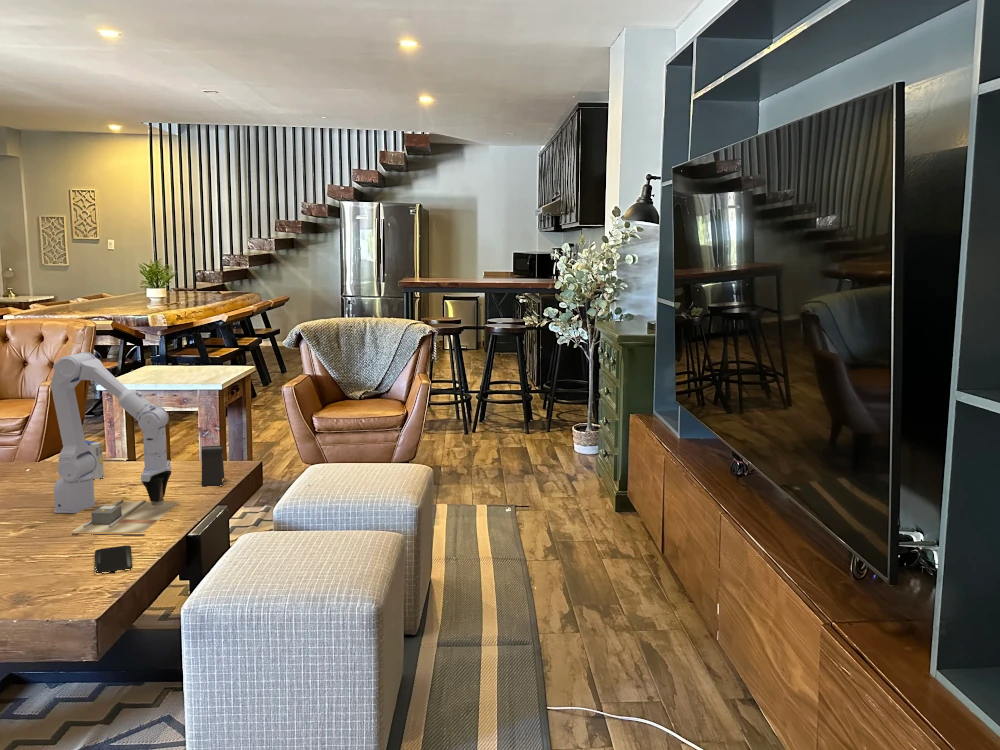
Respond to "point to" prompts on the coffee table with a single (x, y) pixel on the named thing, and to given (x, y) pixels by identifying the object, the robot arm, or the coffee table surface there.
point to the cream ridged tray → (130, 518)
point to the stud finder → (106, 514)
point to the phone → (113, 559)
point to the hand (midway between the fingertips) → (157, 499)
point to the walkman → (98, 453)
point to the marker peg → (161, 500)
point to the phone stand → (212, 466)
